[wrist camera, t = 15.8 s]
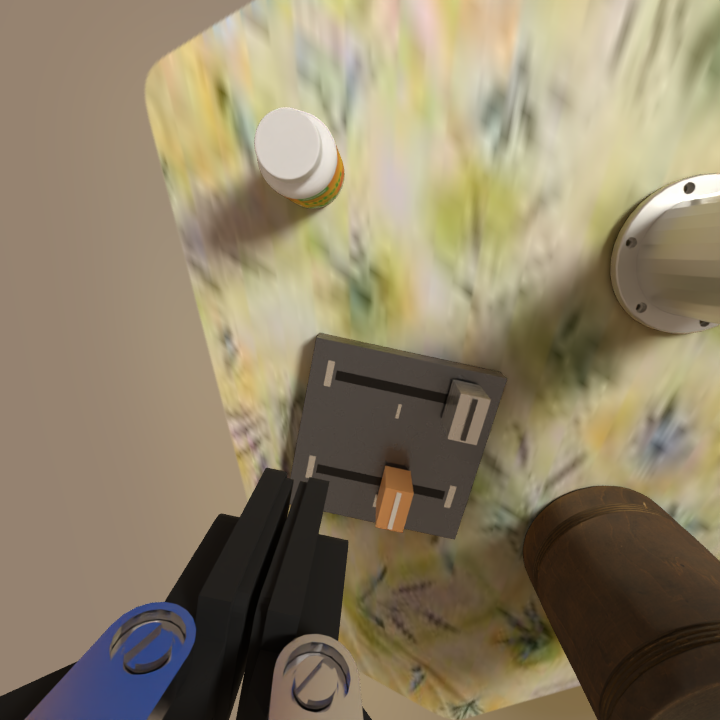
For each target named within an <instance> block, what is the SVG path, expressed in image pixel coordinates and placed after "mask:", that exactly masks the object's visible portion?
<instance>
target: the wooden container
mask: <svg viewBox="0 0 720 720" xmlns="http://www.w3.org/2000/svg"><path fill="white" fill-rule="evenodd" d="M523 559H524V564H525V568H526V570H527V573H528V575H529V578H530V580H531V582H532V584H533V587H534V589H535V591H536V593H537V595H538V597H539V599H540V602H541V604H542V606H543V609H544V611H545V613H546V615H547V617H548V619H549V621H550V623H551V626H552V628H553V630H554V632H555V634H556V636H557V638H558V640H559V642H560V644H561V646H562V648H563V650H564V652H565V654H566V656H567V658H568V660H569V662H570V664H571V666H572V668H573V670H574V672H575V674H576V676H577V678H578V680H579V682H580V684H581V686H582V688H583V691H584V693H585V694H586V697H587V699H588V701H589V703H590V705H591V707H592V709H593V711H594V713H595V715H596V717H597V719H598V720H720V561H719V560H718V559H717V558H716V557H715V556H714V555H713V554H712V553H710V552H709V551H708V550H707V549H706V548H705V547H704V546H703V545H702V544H701V543H700V542H699V541H697V540H696V539H695V538H694V537H693V536H692V535H691V534H690V533H689V532H688V531H686V530H685V529H684V528H683V527H682V526H681V525H679V524H678V523H677V522H676V521H675V520H674V519H673V518H672V517H671V516H670V515H669V514H668V513H666V512H665V511H664V510H663V509H662V508H661V507H660V506H658V505H657V504H656V503H655V502H654V501H652V500H651V499H650V498H648V497H647V496H645V495H643V494H641V493H639V492H636V491H633V490H631V489H627V488H623V487H617V486H596V487H589V488H585V489H581V490H577V491H574V492H572V493H569V494H566V495H564V496H562V497H560V498H558V499H557V500H555V501H554V502H552V503H551V504H550V505H549V506H547V507H546V508H545V509H544V510H543V511H542V512H541V513H540V514H539V515H538V516H537V517H536V518H535V520H534V521H533V522H532V524H531V526H530V528H529V529H528V531H527V534H526V537H525V541H524V546H523Z"/></svg>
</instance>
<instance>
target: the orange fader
mask: <svg viewBox="0 0 720 720" xmlns="http://www.w3.org/2000/svg"><path fill="white" fill-rule="evenodd" d="M413 494H414V492H413V485H412V478H411V471H408V470H403V469H398V468H394V467H389V466H385V469H384V473H383V477H382V481H381V484H380V488H379V492H378V496H377V500H376V527H377V528H382V529H387V530H391V531H396V532H401V533H403V530H404V526H405V523H406V519H407V515H408V512H409V508H410V505H411V501H412V498H413Z"/></svg>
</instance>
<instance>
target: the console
mask: <svg viewBox="0 0 720 720" xmlns="http://www.w3.org/2000/svg"><path fill="white" fill-rule="evenodd" d="M453 380H458V381H463V382H467V383H472V384H476V385H480V386H481V387H482V389H483V390H484V391H485V393H486V394H487V395H488V397H489V398H490V399H491V401H490V405H489V408H488V411H487V414H486V417H485V420H484V423H483V426H482V430H481V433H480V436H479V439H478V442H477V445H473V444H468V443H463V442H459V441H454V440H450V439H447V436H446V434H445V431H444V428H443V425H442V423H441V419H442V415H443V412H444V409H445V405H446V402H447V398H448V395H449V391H450V388H451V384H452V381H453ZM506 381H507V378H506V377H505V376H504V375H503V374H502V373H501V372H498V371H493V370H489V369H484V368H480V367H475V366H470V365H466V364H461V363H457V362H452V361H447V360H443V359H438V358H434V357H429V356H424V355H420V354H415V353H411V352H406V351H401V350H397V349H392V348H388V347H383V346H378V345H374V344H369V343H364V342H360V341H355V340H351V339H346V338H341V337H337V336H332V335H328V334H323V333H319V335H318V336H317V338H316V343H315V349H314V354H313V359H312V365H311V370H310V375H309V381H308V386H307V392H306V397H305V402H304V408H303V413H302V418H301V424H300V429H299V435H298V440H297V445H296V451H295V456H294V461H293V467H292V472H291V478H290V479H294V483H293V488H292V494H291V499H290V504H291V505H292V502H293V499H294V497H295V494H296V491H297V488H298V485H299V482H300V481H303V482H308V480H309V477H312V478H317V479H322V480H326V481H330V482H329V487H328V492H327V496H326V501H325V505H324V510H323V511H324V512H329V513H333V514H338V515H343V516H347V517H352V518H357V519H362V520H366V521H371V522H376V500H377V496H378V492H379V488H380V484H381V481H382V477H383V473H384V469H385V466H389V467H394V468H398V469H403V470H408V471H411V478H412V485H413V492H414V494H413V498H412V501H411V505H410V508H409V512H408V515H407V519H406V523H405V526H404V529H408V530H413V531H418V532H423V533H427V534H432V535H437V536H441V537H446V538H451V539H455V537H456V534H457V531H458V528H459V525H460V522H461V519H462V516H463V513H464V510H465V507H466V504H467V501H468V497H469V494H470V491H471V488H472V485H473V482H474V479H475V476H476V473H477V470H478V467H479V464H480V461H481V458H482V455H483V451H484V448H485V445H486V442H487V439H488V436H489V433H490V430H491V427H492V424H493V421H494V418H495V415H496V412H497V409H498V405H499V402H500V399H501V396H502V393H503V390H504V387H505V384H506Z"/></svg>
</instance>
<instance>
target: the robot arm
mask: <svg viewBox="0 0 720 720" xmlns="http://www.w3.org/2000/svg"><path fill="white" fill-rule="evenodd" d="M683 189H684V190H683ZM626 241H627V245H626ZM610 275H611V281H612V287H613V290H614V292H615V295H616V297H617V300H618V301H619V303H620V304H621V306H622V307H623V309H624V310H625V311H626V312H627V313H628V314H629V315H630V316H631V317H632V318H633V319H634V320H636V321H638V322H639V323H641V324H643V325H645V326H647V327H650V328H653V329H656V330H659V331H664V332H668V333H681V334H687V333H694V332H701V331H704V330H707V329H710V328H713V327H716V326H718V325H720V174H719V173H711V174H700V175H695V176H691V177H687V178H683V179H680V180H678V181H675V182H673V183H670V184H667V185H666V186H664V187H662V188H661V189H659V190H657V191H655V192H654V193H652V194H651V195H650V196H649V197H648V198H646V199H645V200H644V201H643V202H641V203H640V204H639V205H638V207H637V208H636V209H635V210H634V211H633V212H632V213H631V215H630V216H629V217H628V219H627V220H626V222H625V223H624V225H623V227H622V228H621V230H620V232H619V234H618V237H617V239H616V242H615V244H614V248H613V252H612V257H611V271H610ZM636 306H637V308H636ZM329 482H330V481H326V480H322V479H317V478H312V477H309V480H308V482H303V481H300V482H299V485H298V488H297V491H296V494H295V497H294V499H293V502H292V505H291V508H290V511H289V514H288V510H289V504H290V499H291V494H292V488H293V483H294V479H289V478H287V472H284V471H280V470H275V469H270V468H266V469H265V471H264V473H263V474H262V476H261V478H260V480H259V482H258V484H257V486H256V488H255V490H254V492H253V493H252V495H251V497H250V499H249V501H248V503H247V505H246V507H245V509H244V511H243V513H242V514H241V516H240V517H235V516H230V515H226V514H219V515H218V517H217V518H216V519H215V521H214V523H213V524H212V526H211V527H210V529H209V531H208V532H207V534H206V535H205V537H204V539H203V541H202V542H201V544H200V545H199V547H198V549H197V550H196V552H195V553H194V555H193V557H192V558H191V560H190V561H189V563H188V565H187V567H186V568H185V570H184V571H183V573H182V575H181V576H180V578H179V580H178V581H177V583H176V584H175V586H174V588H173V589H172V591H171V592H170V594H169V596H168V597H167V599H166V601H165V602H155V603H149V604H145V605H142V606H138V607H136V608H134V609H132V610H130V611H129V612H127V613H125V614H123V615H122V616H121V617H120V618H119V619H117V620H116V621H115V622H114V623H113V624H112V625H111V626H110V627H109V628H108V629H107V630H106V631H105V632H104V633H103V634H102V635H101V637H100V638H99V639H98V640H97V641H96V642H95V643H94V644H93V645H92V646H91V647H90V649H89V650H88V651H87V652H86V653H85V654H84V655H83V656H82V657H81V659H79V661H77V662H75V663H73V664H71V665H68V666H66V667H64V668H62V669H60V670H58V671H55V672H53V673H51V674H49V675H46V676H44V677H42V678H40V679H38V680H36V681H33V682H31V683H29V684H27V685H24V686H22V687H20V688H18V689H16V690H13V691H12V692H9V693H7V694H5V695H3V696H0V720H229V718H230V715H231V711H232V709H233V706H234V702H235V699H236V696H237V693H238V690H239V686H240V684H241V681H242V678H243V675H244V678H243V683H242V689H241V695H240V700H239V706H238V712H237V717H236V720H372V719H371V718H370V716H369V715H368V714H367V712H366V711H365V710H364V708H363V707H362V700H361V689H360V679H359V673H358V669H357V665H356V662H355V660H354V659H353V657H352V655H351V653H350V652H349V651H348V650H347V649H346V648H345V647H344V646H343V645H342V644H341V643H340V642H339V641H338V636H339V627H340V617H341V608H342V599H343V589H344V580H345V571H346V561H347V552H348V540H343V539H339V538H334V537H329V536H325V535H320V534H318V533H319V528H320V524H321V519H322V515H323V510H324V505H325V501H326V496H327V492H328V487H329ZM287 515H288V517H287ZM244 671H245V672H244Z"/></svg>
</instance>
